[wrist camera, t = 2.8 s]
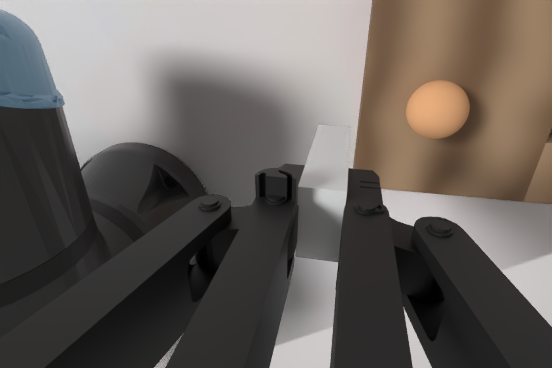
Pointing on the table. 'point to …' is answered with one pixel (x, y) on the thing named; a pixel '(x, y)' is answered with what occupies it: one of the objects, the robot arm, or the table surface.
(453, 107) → the ball
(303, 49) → the table surface
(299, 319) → the table surface
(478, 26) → the wooden board
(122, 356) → the robot arm
